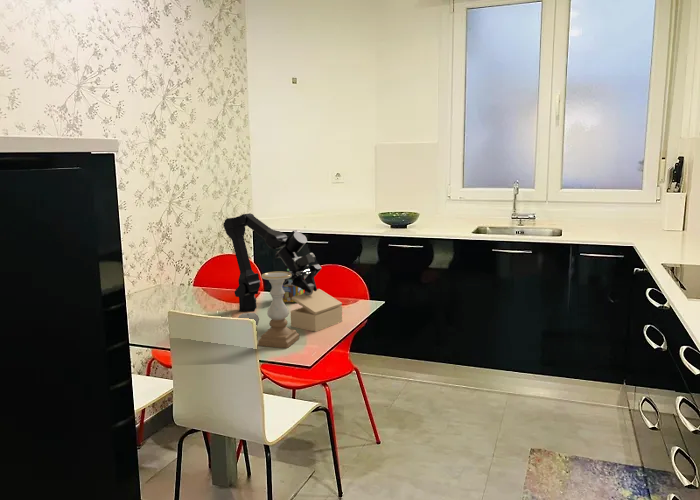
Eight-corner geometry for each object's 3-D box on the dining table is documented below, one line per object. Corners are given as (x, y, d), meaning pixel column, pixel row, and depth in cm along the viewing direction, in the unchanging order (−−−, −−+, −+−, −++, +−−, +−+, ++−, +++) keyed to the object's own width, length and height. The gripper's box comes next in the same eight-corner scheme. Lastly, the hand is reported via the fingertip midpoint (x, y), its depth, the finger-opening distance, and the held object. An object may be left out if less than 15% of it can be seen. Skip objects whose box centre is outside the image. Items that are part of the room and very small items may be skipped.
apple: (239, 327, 214) (238, 310, 213) (260, 327, 214) (259, 310, 213) (236, 334, 206) (236, 316, 205) (258, 333, 206) (258, 315, 205)
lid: (291, 299, 212) (294, 287, 210) (318, 290, 225) (322, 279, 223) (314, 314, 206) (318, 302, 205) (341, 305, 219) (345, 294, 217)
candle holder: (271, 336, 203) (268, 270, 199) (299, 338, 200) (297, 271, 196) (257, 345, 192) (254, 276, 189) (287, 348, 189) (285, 278, 186)
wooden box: (291, 326, 214) (290, 310, 213) (318, 316, 227) (317, 302, 226) (315, 331, 207) (315, 315, 206) (342, 321, 220) (341, 306, 219)
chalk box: (298, 303, 249) (297, 270, 247) (278, 302, 251) (277, 269, 248) (304, 298, 258) (303, 266, 256) (285, 297, 260) (284, 265, 257)
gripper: (285, 250, 209) (308, 283, 204) (317, 243, 224) (340, 274, 219) (270, 268, 215) (292, 301, 210) (302, 261, 230) (324, 291, 225)
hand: (313, 291), depth 216 cm, fingers closed on lid, 3 cm apart
